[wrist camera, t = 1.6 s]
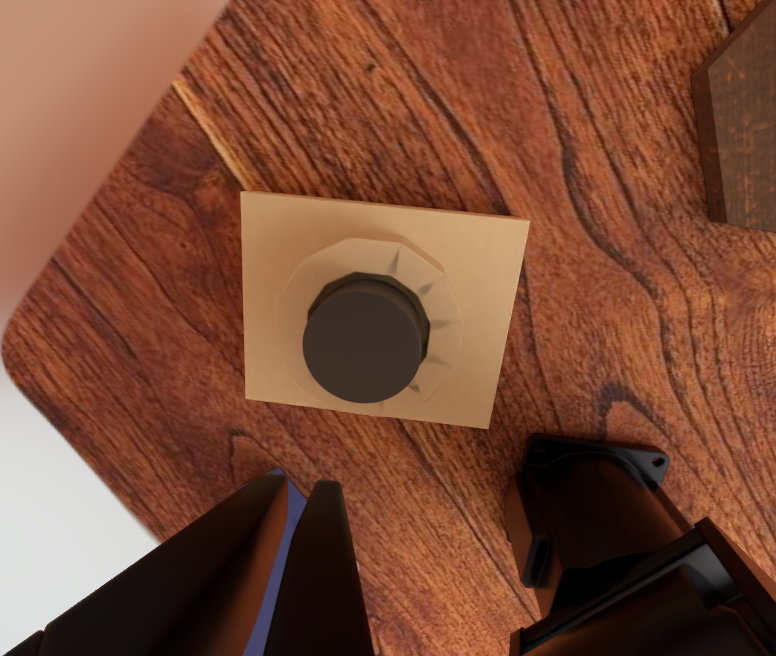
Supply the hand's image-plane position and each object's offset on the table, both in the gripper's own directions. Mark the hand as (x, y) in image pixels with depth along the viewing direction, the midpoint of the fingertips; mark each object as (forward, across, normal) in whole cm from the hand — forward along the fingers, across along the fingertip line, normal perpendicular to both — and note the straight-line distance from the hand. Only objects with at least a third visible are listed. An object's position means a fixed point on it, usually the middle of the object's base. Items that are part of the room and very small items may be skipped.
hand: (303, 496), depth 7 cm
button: (+9, 0, 0) cm, 9 cm away
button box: (+12, 0, 0) cm, 12 cm away
